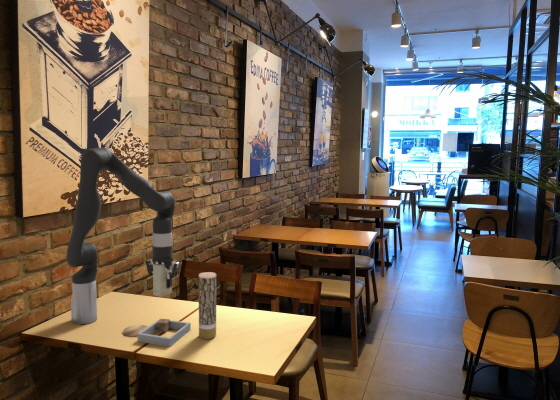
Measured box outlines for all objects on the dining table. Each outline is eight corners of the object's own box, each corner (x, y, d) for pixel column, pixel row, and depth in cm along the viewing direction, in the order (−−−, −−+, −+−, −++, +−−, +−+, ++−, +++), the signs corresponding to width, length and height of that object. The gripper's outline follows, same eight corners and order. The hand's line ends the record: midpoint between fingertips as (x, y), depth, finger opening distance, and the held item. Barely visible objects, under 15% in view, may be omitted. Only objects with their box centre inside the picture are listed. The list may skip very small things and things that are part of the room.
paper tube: (201, 340, 171) (201, 277, 168) (196, 334, 177) (196, 273, 174) (218, 337, 174) (218, 275, 171) (212, 331, 180) (213, 271, 177)
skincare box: (161, 297, 168) (161, 266, 167) (152, 295, 170) (152, 264, 169) (172, 292, 174) (172, 262, 172) (163, 290, 176) (163, 260, 174)
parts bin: (137, 341, 169) (137, 333, 169) (160, 325, 184) (160, 318, 184) (170, 346, 165) (170, 338, 165) (190, 330, 181) (190, 323, 180)
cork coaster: (117, 334, 175) (117, 333, 175) (133, 325, 185) (133, 323, 185) (140, 337, 172) (139, 336, 172) (154, 328, 182) (154, 326, 182)
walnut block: (156, 332, 178) (156, 322, 178) (160, 328, 182) (160, 318, 182) (166, 332, 178) (166, 323, 178) (169, 328, 182) (169, 319, 182)
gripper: (140, 244, 168) (141, 287, 170) (174, 247, 164) (174, 292, 166) (151, 240, 175) (151, 282, 177) (184, 243, 171) (184, 286, 173)
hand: (162, 286), depth 172 cm, fingers closed on skincare box, 4 cm apart
